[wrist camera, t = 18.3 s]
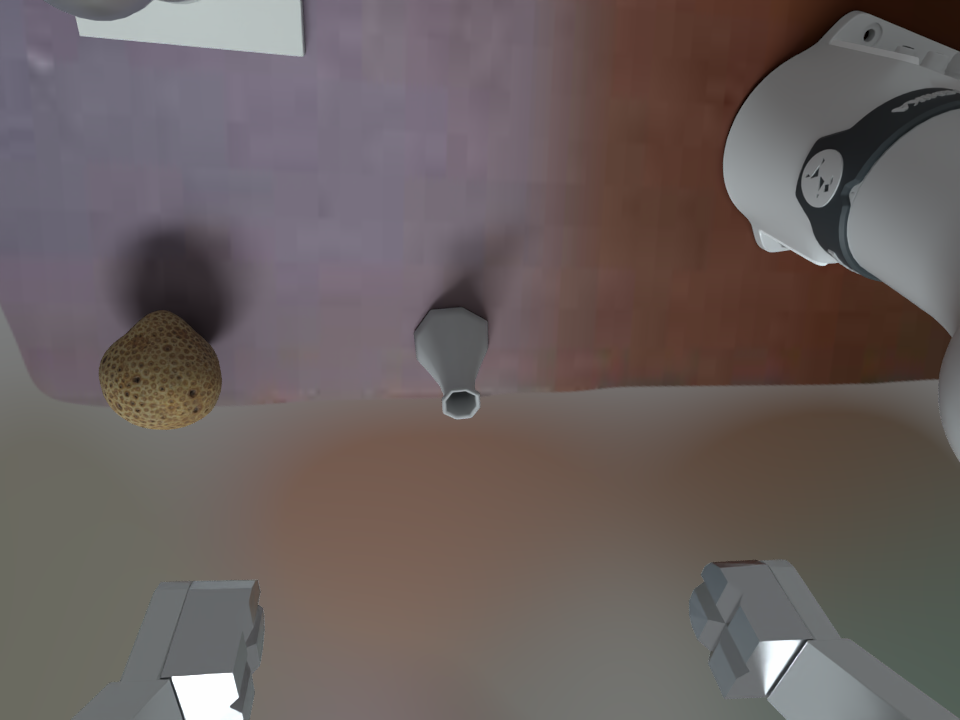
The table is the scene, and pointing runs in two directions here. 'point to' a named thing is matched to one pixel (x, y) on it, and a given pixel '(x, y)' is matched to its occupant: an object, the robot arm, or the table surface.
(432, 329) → the flask
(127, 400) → the natural sponge
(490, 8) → the table surface
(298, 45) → the bottle pad
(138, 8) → the plastic bottle
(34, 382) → the table surface
